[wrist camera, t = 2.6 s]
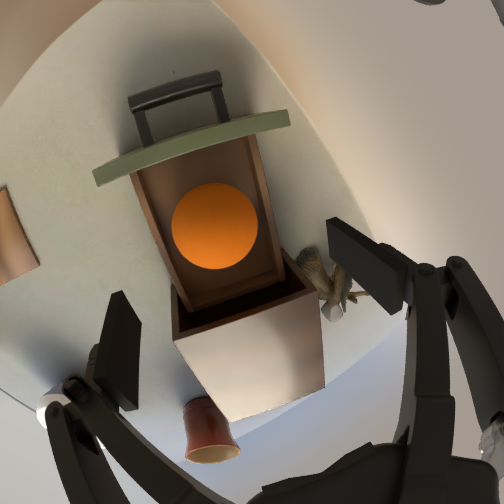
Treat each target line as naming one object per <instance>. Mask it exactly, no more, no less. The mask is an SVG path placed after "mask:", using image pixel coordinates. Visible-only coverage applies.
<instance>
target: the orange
mask: <svg viewBox="0 0 504 504" xmlns="http://www.w3.org/2000/svg"><path fill="white" fill-rule="evenodd" d="M257 229H258V221H257V215H256V212H255V209H254V207H253V205H252V203H251V202H250V200H249V199H248V198H247V197H246V196H245V194H243V193H242V192H241V191H240V190H238V189H236V188H235V187H233V186H230V185H227V184H223V183H207V184H203V185H200V186H197V187H195V188H194V189H192V190H190V191H189V192H188V193H187V194H185V195H184V196H183V197H182V199H181V200H180V201H179V203H178V204H177V206H176V208H175V211H174V214H173V218H172V234H173V239H174V242H175V244H176V246H177V248H178V249H179V251H180V252H181V254H182V255H183V256H184V257H185V258H186V259H188V260H189V261H190V262H192V263H193V264H195V265H197V266H200V267H203V268H208V269H221V268H226V267H229V266H232V265H234V264H236V263H237V262H239V261H240V260H242V259H243V258H244V257H245V256H246V255H247V254H248V252H249V251H250V250H251V248H252V246H253V244H254V242H255V239H256V236H257Z"/></svg>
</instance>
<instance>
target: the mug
mask: <svg viewBox="0 0 504 504" xmlns="http://www.w3.org/2000/svg"><path fill="white" fill-rule="evenodd" d="M183 420H184V425H185V431H186V435H187V449H186V454H185V457H186V459H187V460H188V461H190V462H194V463H199V464H212V463H220V462H223V461H227V460H230V459H232V458H234V457H236V456H237V455H239V453H240V448H239V446H238V445H237V444H236V442H235V441H234V439H233V437H232V435H231V432H230V428H229V423H228V420H227V418H226V417H225V416H224V415H223V413H222V412H221V411H220V409H219V408H218V407H217V405H216V404H215V403H214V401H213V400H212V399H211V398H198V399H194V400H192V401H190V402H189V403H187V404H186V405H185V407H184V413H183Z"/></svg>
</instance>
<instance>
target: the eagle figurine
mask: <svg viewBox="0 0 504 504" xmlns="http://www.w3.org/2000/svg"><path fill="white" fill-rule="evenodd" d="M296 264H297V265H298V267H299V268H300V269H301V270H302V271H303V273H304V274H305V275H306V276H307V277H308V279H309V280H310V281H311V282H312V283H313V285H314V286H315V287H316V288H317V290H318V298H319V299H320V300H322V299H323V300H324V301H325V300H327V302H326V303H325V304H324V305H323V307H322V308H321V311H322V313H323V314H324V316H325V317H326V319H328V320H329V321H331V322H332V321H333V322H335V321H338V320H339V319H341V317H342V316H343V313H342V310H341V308H340V306H339V303H340V302H341V303H342V308H343V312H345V313H346V303H347V302H346V300H347V299H349V300H350V301H352V302H353V303H355V304H356V303H357V299H356V297H357V296H362V295H366V296H368V295H369V294H368V293H367V292H366V291H359V292H349V291H350V289H351V288H352V284H353V283H352V277H350V276H349V275H348V274H347V273H346V272H345V271H344V270H343V269H342V268H341V267H340V266H339V265H338V264H336V263H335V265H334V266H333V267H332V276H331V277H329V276H328V275H327V274H326V272H325V270H324V267H323V265H322V263H321V258H320V255H319V252H318V249H313V248H310V249H309V250H308V249H305V250H304V251H301V255H300V256H299V257H298V263H296Z"/></svg>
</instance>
